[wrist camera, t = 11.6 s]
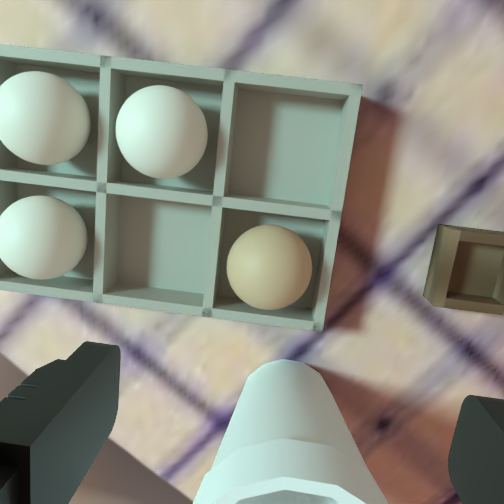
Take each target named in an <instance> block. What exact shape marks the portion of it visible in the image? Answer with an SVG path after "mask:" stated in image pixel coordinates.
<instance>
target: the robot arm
mask: <svg viewBox="0 0 504 504" xmlns="http://www.w3.org/2000/svg"><path fill="white" fill-rule="evenodd" d="M120 355H121V354H120V348H119V346H117V345H110V344H102V343H95V342H88V341H86V342H84V343H83V344H82V345H81V346H80V347H79V348H78V349H77V350H76V351H75V352H74V353H73V354H72V355H71V356H70V357H69V358H68V359H67V360H60V359H57V360H55V361H53V362H51V363H49V364H47V365H45V366H42V367H40V368H38V369H36V370H35V371H34V372H33V373H32V374H31V375H30V376H28V377H27V379H25V380H24V381H23V382H22V383H21V386H17V387H16V388H15V389H14V390H13V391H12V392H11V393H10V394H9V395H8V398H6V397H5V398H4V399H3V400H2V401H1V402H0V504H68V503H69V501H70V500H71V498H72V496H73V495H74V493H75V492H76V490H77V488H78V487H79V485H80V483H81V482H82V480H83V478H84V477H85V475H86V473H87V471H88V469H89V468H90V467H91V465H92V463H93V461H94V460H95V458H96V457H97V455H98V453H99V451H100V450H101V448H102V446H103V445H104V443H105V441H106V440H107V438H108V436H109V435H110V433H111V431H112V428H113V426H114V423H115V419H116V415H117V410H118V398H119V378H120ZM448 468H449V475H450V479H451V482H452V484H453V487H454V488H455V490H456V492H457V494H458V496H459V498H460V500H461V502H462V504H504V400H503V399H496V398H489V397H481V396H474V395H469V396H467V397H466V398H465V399H464V401H463V403H462V406H461V410H460V414H459V418H458V421H457V425H456V429H455V433H454V436H453V440H452V444H451V448H450V452H449V458H448Z"/></svg>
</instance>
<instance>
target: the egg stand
mask: <svg viewBox="0 0 504 504" xmlns="http://www.w3.org/2000/svg"><path fill="white" fill-rule="evenodd" d="M423 296H424V297H425V298H426V299H427V300H428V301H429V302H430V303H431V304H432V305H433V306H436V307H444V308H452V309H459V310H467V311H475V312H483V313H491V314H499V315H504V232H500V231H492V230H483V229H475V228H467V227H459V226H450V225H442V224H438V228H437V233H436V237H435V242H434V247H433V251H432V256H431V260H430V265H429V270H428V274H427V279H426V284H425V288H424V293H423Z"/></svg>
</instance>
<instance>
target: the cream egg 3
mask: <svg viewBox="0 0 504 504" xmlns="http://www.w3.org/2000/svg"><path fill="white" fill-rule="evenodd" d="M116 139H117V143H118V146H119V148H120V151H121V153H122V154H123V156H124V158H125V159H126V160H127V162H128V163H129V164H130V165H131V166H132V167H133V168H135V169H136V170H138V171H139V172H141V173H142V174H144V175H147V176H149V177H152V178H158V179H171V178H176V177H179V176H182V175H184V174H185V173H187V172H189V171H190V170H192V169H193V168H194V167H195V166H196V165H197V164H198V162H199V161H200V160H201V158H202V156H203V154H204V152H205V149H206V146H207V140H208V129H207V123H206V120H205V117H204V115H203V113H202V111H201V109H200V107H199V106H198V105H197V103H196V102H195V101H194V100H193V99H192V98H191V97H190V96H189V95H187V94H186V93H184V92H183V91H181V90H179V89H176V88H173V87H170V86H165V85H155V86H149V87H145V88H143V89H140V90H138V91H137V92H135V93H134V94H132V95H131V96H130V97H129V98H128V99H127V100H126V101H125V103H124V104H123V105H122V107H121V109H120V111H119V113H118V116H117V120H116Z"/></svg>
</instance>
